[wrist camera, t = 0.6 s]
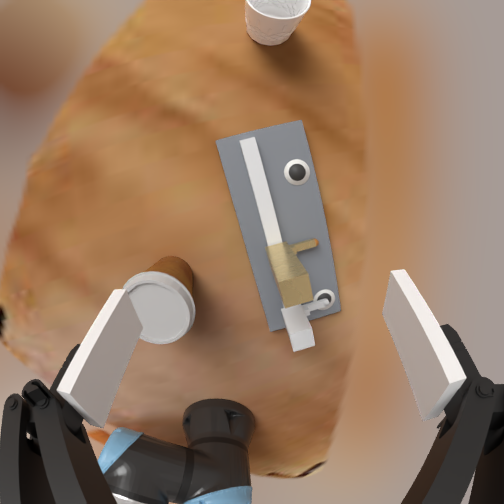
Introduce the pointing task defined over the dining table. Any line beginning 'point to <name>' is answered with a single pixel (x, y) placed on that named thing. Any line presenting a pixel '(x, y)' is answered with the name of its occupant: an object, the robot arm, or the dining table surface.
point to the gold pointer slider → (291, 271)
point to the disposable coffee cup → (163, 300)
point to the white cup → (273, 19)
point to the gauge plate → (281, 220)
